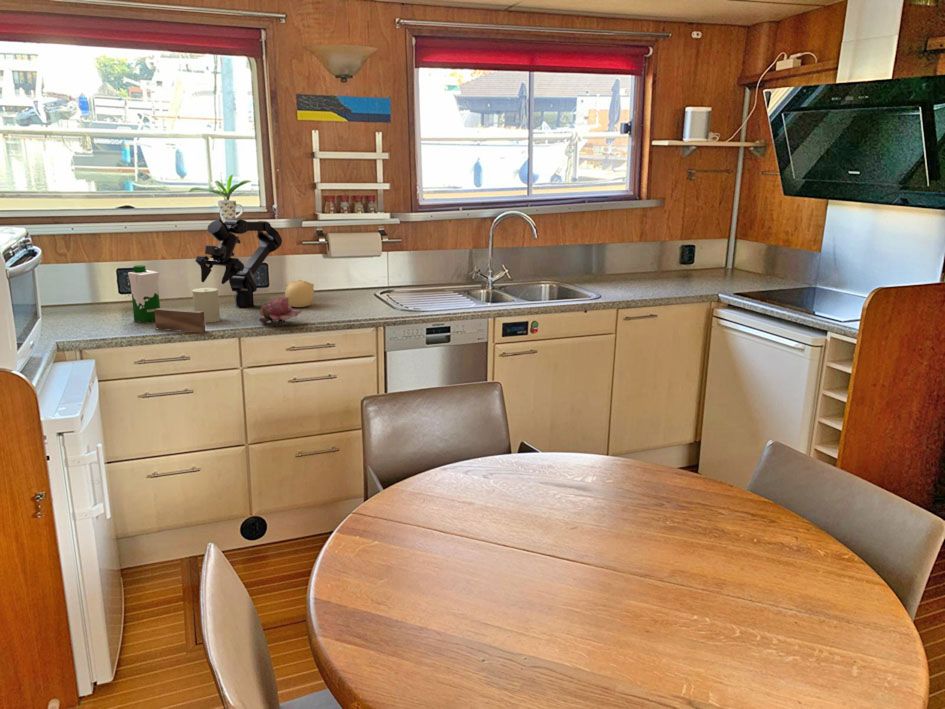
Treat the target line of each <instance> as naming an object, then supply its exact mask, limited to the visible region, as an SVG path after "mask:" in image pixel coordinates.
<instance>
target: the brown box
mask: <svg viewBox="0 0 945 709" xmlns="http://www.w3.org/2000/svg"><path fill="white" fill-rule="evenodd" d="M154 311H155V321H154V322H155V329H156V328H158V329H157V330H163V329H170V330H169V331H175V330H181V331H180V332H188V331H189V333H190V332H191V333H204V332H206V323H205V316H204V311H194V310H188V309H175V308H162V307H160V308H158V309H155V310H154Z"/></svg>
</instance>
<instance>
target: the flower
mask: <svg viewBox="0 0 945 709" xmlns="http://www.w3.org/2000/svg"><path fill="white" fill-rule="evenodd" d="M288 300H289V298H288V297H287V298H286V297H285V296H284V297H282V298H275V300H271V301H269V302H268V303H267V304H264V305H262V306H261V307H260V309H259V314H260V316H262V318H260V319H259V322H261V323H262V324H265V322H266V323H267V322H269V321H270V322H271V323H272V324H273V326H274V327H276V324H275V322H277V321H278V324H280V323H281V324H282V323H283V322H286V321H287V320H289V319H291V318H294V317H298V315H300V314H301V312H302V310H301V309H293V308H292V307H293V306H290V305H289V304H288Z"/></svg>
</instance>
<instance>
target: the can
mask: <svg viewBox="0 0 945 709" xmlns="http://www.w3.org/2000/svg"><path fill="white" fill-rule="evenodd" d="M191 291H192V299H193V300H192V301H193V302H192V303H193V311H204V316H205V322H211V323H216V321H217V322H219V321H221V315H220V303H219V302H220V300H219V288H216V287H196V288H194V289H192V290H191Z"/></svg>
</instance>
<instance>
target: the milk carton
mask: <svg viewBox="0 0 945 709" xmlns="http://www.w3.org/2000/svg"><path fill="white" fill-rule="evenodd" d="M132 267H133V271H130V272H129V271H128V272H127V275H128V279H129V283H130V289H131V292H130V293H131V299H132V300H131V301H132V309H133V311H132V313H133V321H134V320H135V321H134V322H138V321H140V322H139V323H143V322H144V324H148V323H147V322H149V323H153V321H154V322H155V311H154V310H155V309H158V308H161V304H160V295H159V277H160V272H159V271H155V270H149V269H147V268H146V265H142V264H140V265H134V266H132Z"/></svg>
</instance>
